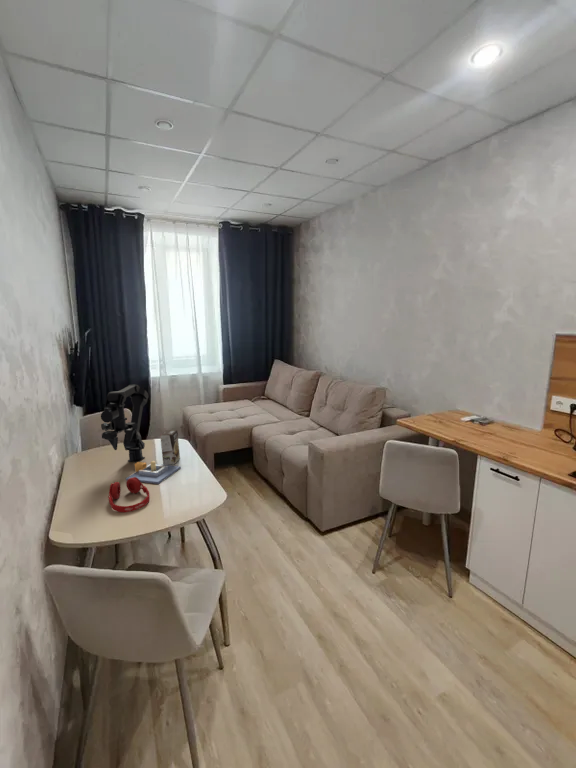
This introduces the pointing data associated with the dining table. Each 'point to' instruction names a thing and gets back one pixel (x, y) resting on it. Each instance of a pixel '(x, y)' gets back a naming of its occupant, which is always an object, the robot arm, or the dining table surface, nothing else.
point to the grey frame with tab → (144, 468)
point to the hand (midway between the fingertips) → (122, 446)
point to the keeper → (152, 478)
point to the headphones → (133, 487)
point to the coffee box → (170, 447)
